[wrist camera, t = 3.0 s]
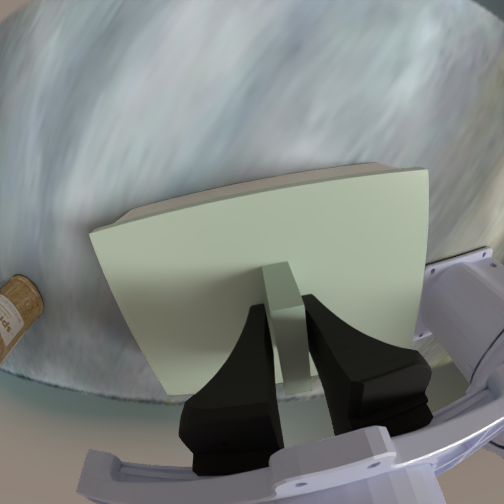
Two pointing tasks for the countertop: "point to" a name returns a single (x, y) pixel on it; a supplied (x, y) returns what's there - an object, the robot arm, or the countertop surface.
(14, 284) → the sprinkles bottle
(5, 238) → the countertop surface
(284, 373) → the lid
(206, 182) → the countertop surface
